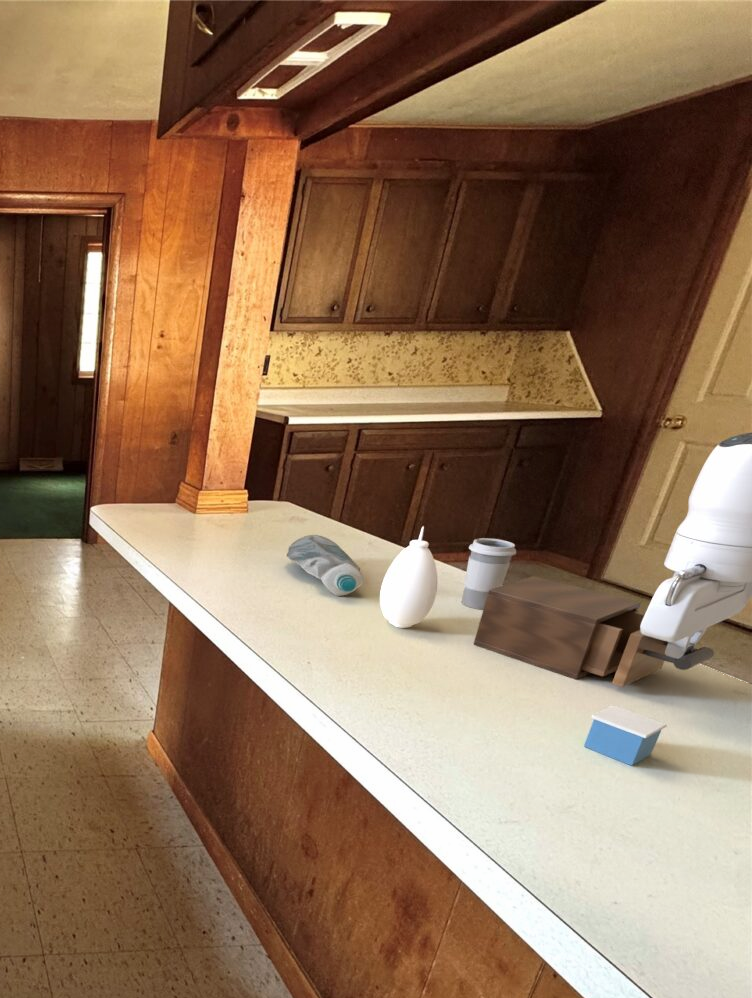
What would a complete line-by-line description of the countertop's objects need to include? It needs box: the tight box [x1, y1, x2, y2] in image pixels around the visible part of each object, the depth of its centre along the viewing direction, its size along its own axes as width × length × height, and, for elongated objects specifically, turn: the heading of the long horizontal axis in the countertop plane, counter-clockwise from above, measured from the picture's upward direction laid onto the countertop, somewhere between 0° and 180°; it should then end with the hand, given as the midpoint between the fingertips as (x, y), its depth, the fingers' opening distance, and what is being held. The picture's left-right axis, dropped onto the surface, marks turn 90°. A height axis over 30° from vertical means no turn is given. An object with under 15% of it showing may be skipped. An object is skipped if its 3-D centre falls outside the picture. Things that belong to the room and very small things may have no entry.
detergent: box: [286, 534, 365, 597], centre depth 135 cm, size 13×7×25 cm
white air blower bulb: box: [379, 525, 439, 629], centre depth 112 cm, size 8×8×18 cm
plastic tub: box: [583, 704, 668, 767], centre depth 79 cm, size 5×5×4 cm
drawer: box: [582, 610, 715, 688], centre depth 96 cm, size 17×11×8 cm, turn 26°
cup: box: [461, 537, 517, 610], centre depth 120 cm, size 7×7×12 cm
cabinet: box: [473, 575, 642, 680], centre depth 102 cm, size 14×13×10 cm
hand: (677, 655), depth 90 cm, fingers closed
